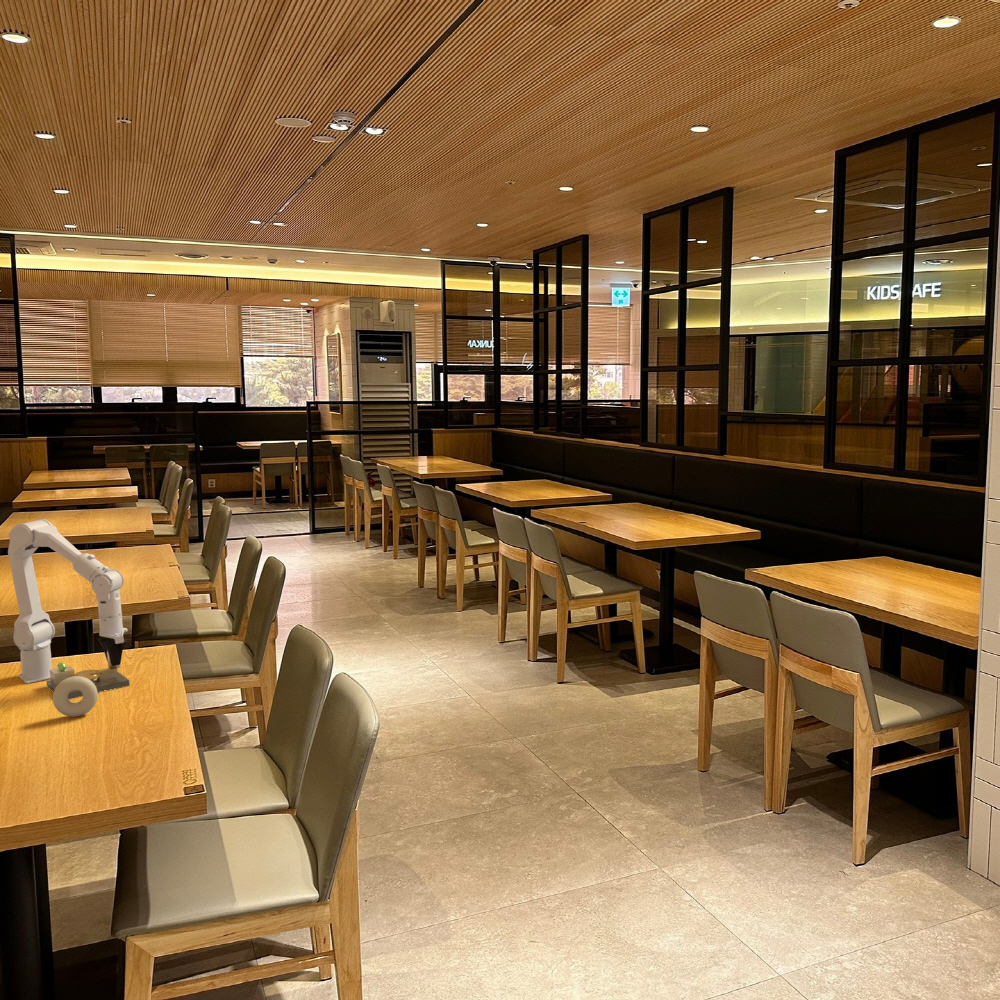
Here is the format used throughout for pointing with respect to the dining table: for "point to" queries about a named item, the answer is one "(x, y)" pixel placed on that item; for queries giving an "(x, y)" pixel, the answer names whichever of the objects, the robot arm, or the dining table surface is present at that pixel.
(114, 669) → the gold rounded piece
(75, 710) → the donut
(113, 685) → the instrument base
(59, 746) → the dining table surface
